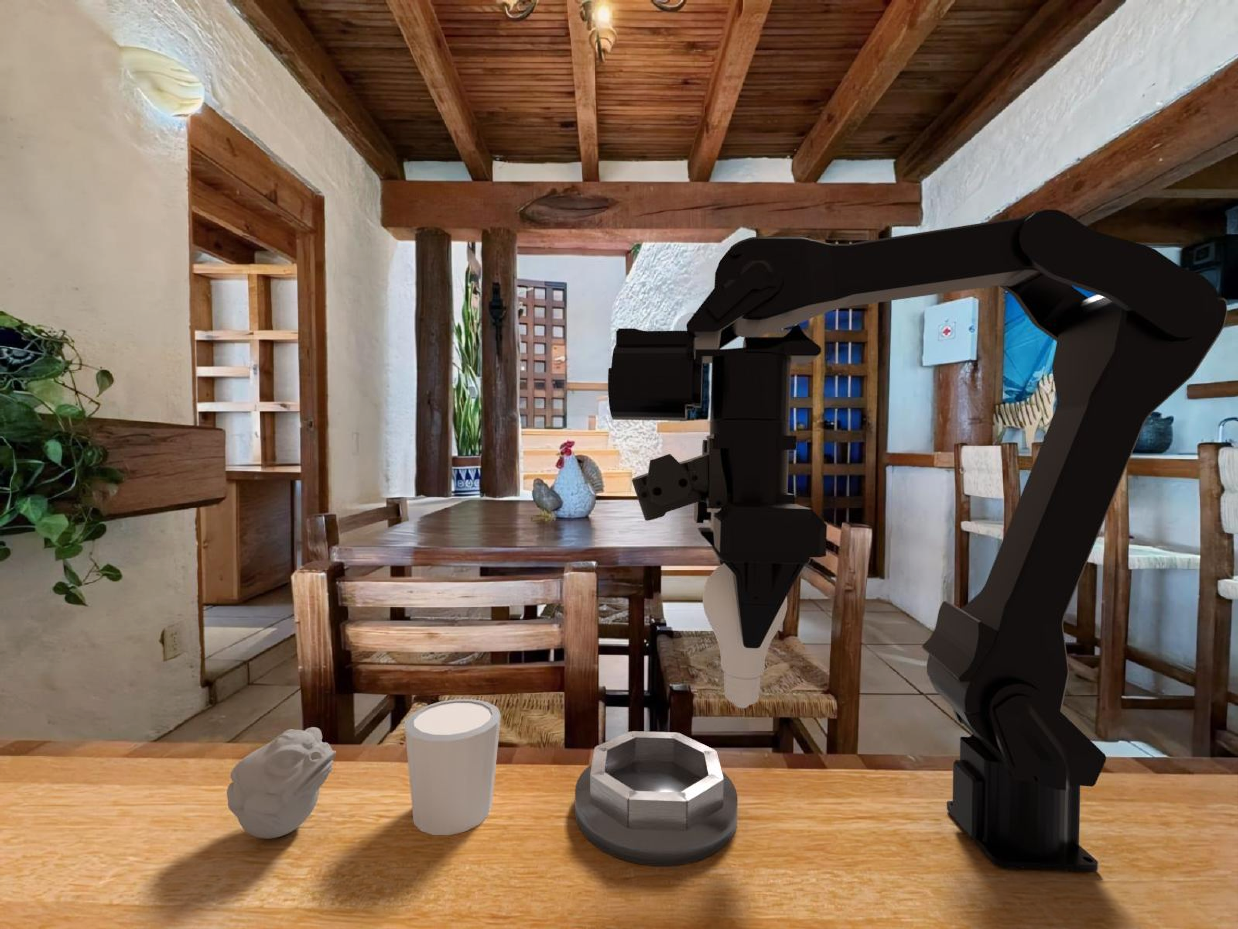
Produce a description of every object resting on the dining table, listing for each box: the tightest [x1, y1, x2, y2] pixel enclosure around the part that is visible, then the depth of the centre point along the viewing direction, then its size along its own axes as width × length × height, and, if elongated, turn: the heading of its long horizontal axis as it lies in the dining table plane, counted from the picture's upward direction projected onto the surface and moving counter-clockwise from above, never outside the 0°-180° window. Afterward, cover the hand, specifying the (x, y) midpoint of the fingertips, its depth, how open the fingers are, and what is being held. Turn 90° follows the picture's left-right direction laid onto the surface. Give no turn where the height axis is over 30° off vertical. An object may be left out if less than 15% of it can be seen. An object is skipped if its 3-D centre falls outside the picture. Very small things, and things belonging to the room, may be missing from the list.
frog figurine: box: [226, 726, 337, 840], centre depth 40 cm, size 6×7×7 cm
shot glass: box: [404, 698, 502, 836], centre depth 42 cm, size 7×7×7 cm
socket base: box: [574, 730, 739, 867], centre depth 43 cm, size 12×12×4 cm
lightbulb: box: [702, 563, 788, 709], centre depth 42 cm, size 6×6×11 cm
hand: (743, 633), depth 42 cm, fingers closed on lightbulb, 6 cm apart
